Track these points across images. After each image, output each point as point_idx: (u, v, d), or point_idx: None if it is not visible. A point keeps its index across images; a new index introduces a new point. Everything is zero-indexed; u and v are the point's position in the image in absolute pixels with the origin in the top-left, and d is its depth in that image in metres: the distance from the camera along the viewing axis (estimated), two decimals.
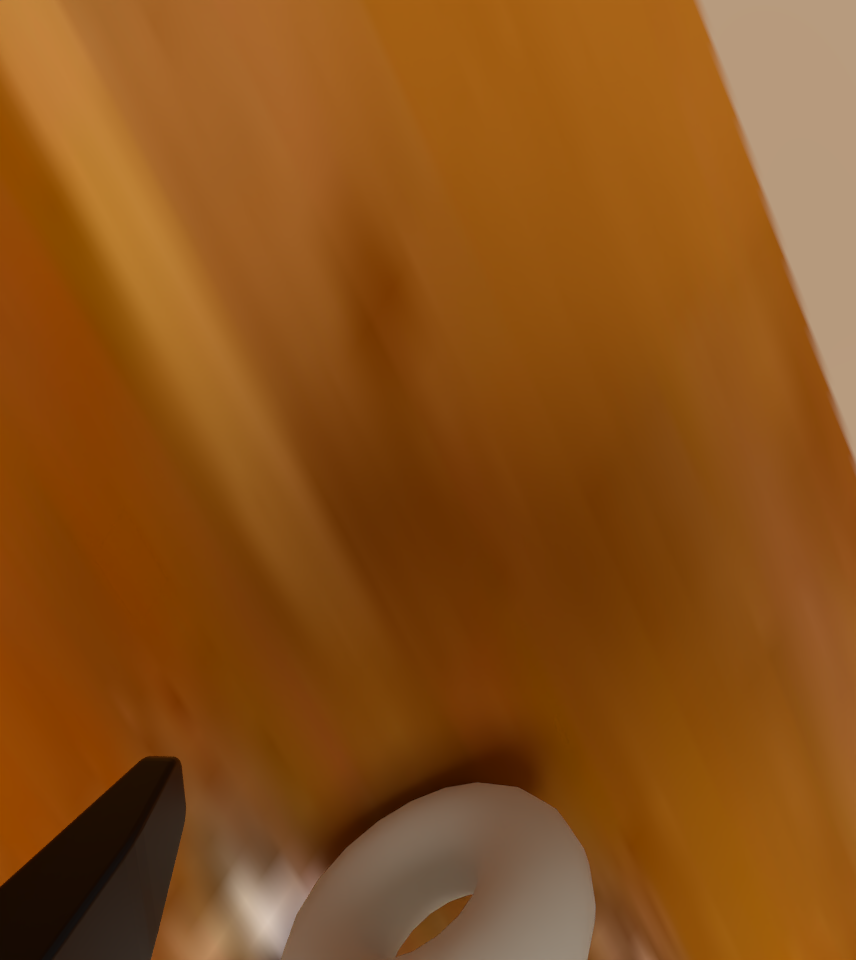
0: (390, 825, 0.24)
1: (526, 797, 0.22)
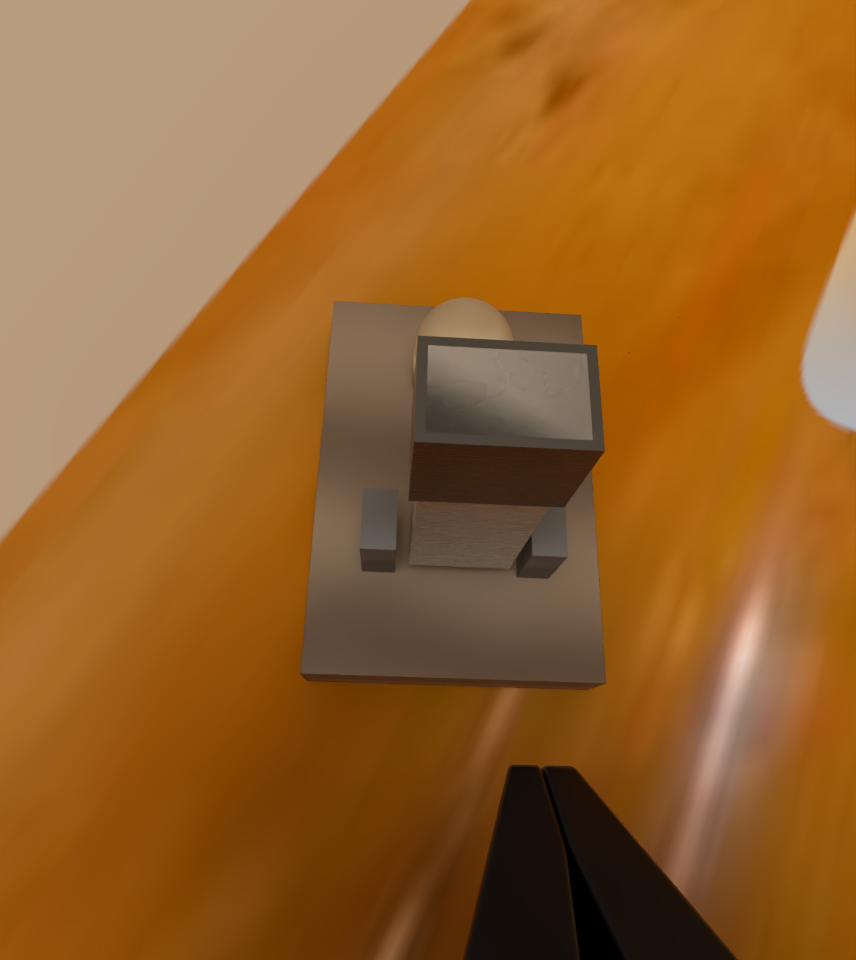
0: None
1: None
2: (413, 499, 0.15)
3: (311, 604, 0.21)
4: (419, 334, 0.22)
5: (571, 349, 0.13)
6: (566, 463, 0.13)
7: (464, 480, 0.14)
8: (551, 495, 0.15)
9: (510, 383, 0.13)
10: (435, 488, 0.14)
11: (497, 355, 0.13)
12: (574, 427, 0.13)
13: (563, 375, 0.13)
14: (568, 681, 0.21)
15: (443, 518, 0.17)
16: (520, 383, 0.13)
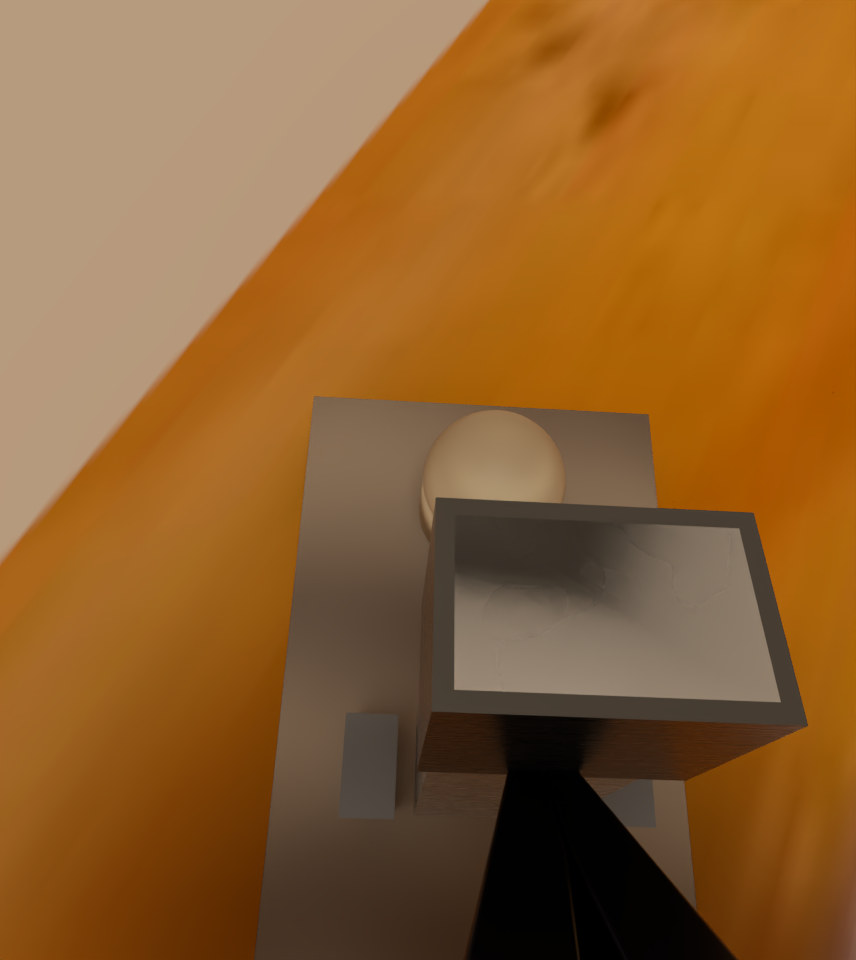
0: None
1: None
2: (425, 770, 0.09)
3: (271, 865, 0.14)
4: (430, 465, 0.15)
5: (711, 520, 0.07)
6: (720, 738, 0.07)
7: (519, 753, 0.08)
8: (670, 769, 0.08)
9: (609, 586, 0.07)
10: (465, 760, 0.08)
11: (580, 532, 0.07)
12: (740, 675, 0.07)
13: (703, 569, 0.07)
14: None
15: (472, 778, 0.10)
16: (628, 585, 0.07)
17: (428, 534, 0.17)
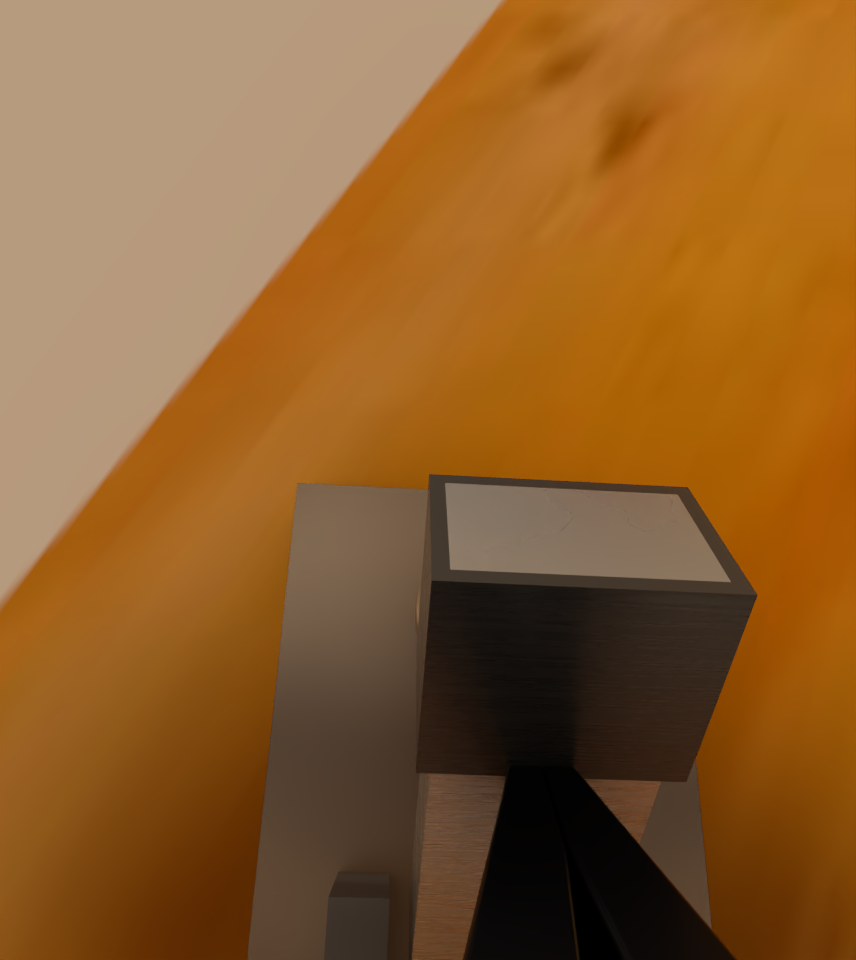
0: None
1: None
2: (424, 768, 0.09)
3: None
4: None
5: (653, 490, 0.09)
6: (691, 639, 0.08)
7: (514, 699, 0.08)
8: (664, 743, 0.08)
9: (575, 520, 0.08)
10: (464, 730, 0.08)
11: (548, 493, 0.09)
12: (693, 567, 0.08)
13: (652, 513, 0.09)
14: None
15: (473, 841, 0.10)
16: (591, 520, 0.08)
17: None
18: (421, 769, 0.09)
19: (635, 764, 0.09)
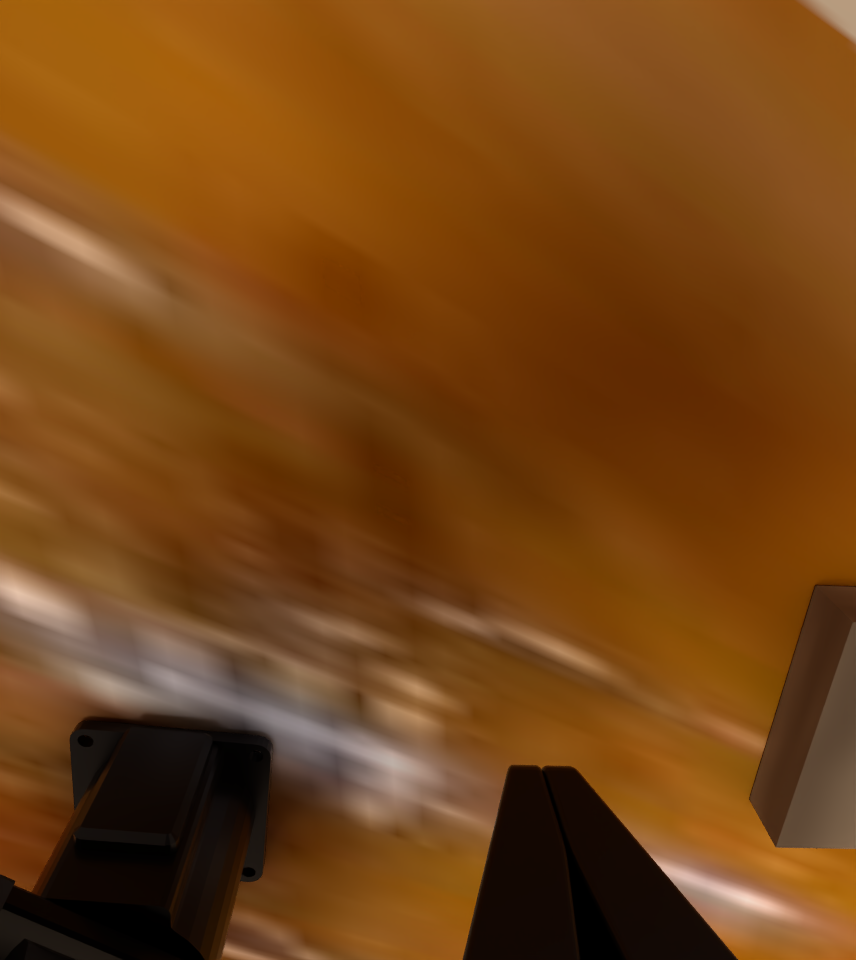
0: None
1: None
2: None
3: None
4: None
5: None
6: None
7: None
8: None
9: None
10: None
11: None
12: None
13: None
14: (784, 822, 0.23)
15: None
16: None
17: None
18: None
19: None
